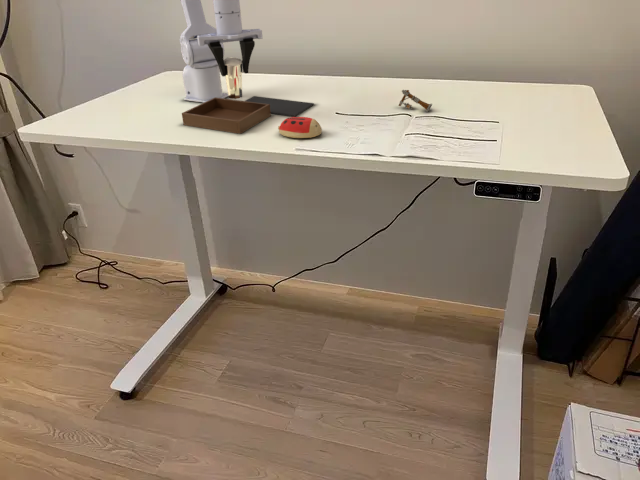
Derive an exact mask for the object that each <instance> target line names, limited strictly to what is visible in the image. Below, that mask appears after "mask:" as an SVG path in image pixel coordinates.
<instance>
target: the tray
mask: <svg viewBox="0 0 640 480" xmlns="http://www.w3.org/2000/svg"><path fill="white" fill-rule="evenodd" d="M271 116H272V114H271V112H270V104H263V103H256V102H248V101H246V100H240V99H239V100H238V99H231V98H216V97H215V98H213V99H211V100H208V101H206V102H204V103H203V102H201V103H200V104H198V105H196V106H194V107H192V108H190V109H187V110H185V111H184V112H181V119H182V124H183V126H188V127H193V128H201V129H207V130H214V131H219V132H227V133H234V134H239V135H241V134H243V133H245V132H246V131H248V130H249V129H251V128H253V127H255V126H257V125H258V124H260V123H261V122H263V121H265V120H266V119H268V118H271Z"/></svg>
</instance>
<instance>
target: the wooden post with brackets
mask: <svg viewBox="0 0 640 480" xmlns="http://www.w3.org/2000/svg"><path fill="white" fill-rule="evenodd" d="M401 93H402V95H403V96H402V98H401V100H400V101H399V103H398V106H399V107H402V105H403V106H404V107H405V108H407V109H408V110H413V109H414V107H413V105H412V104H410V103H409V102H405V100H408V99H410V100H411V101H412V102H414V103H416V104H418V105H420V107H422V108H424V109H425V112H426V113H428V112H429V111H430V109H431V108H432V106H433V103H427V102H426V101H423V100H422V99H420V98H419V97H417V96H416V95H413V94H412V93H411V92H410V90H409V89H402V90H401Z"/></svg>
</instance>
